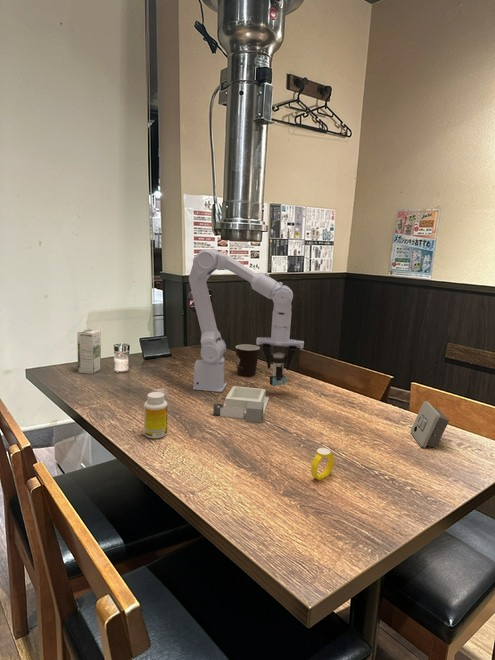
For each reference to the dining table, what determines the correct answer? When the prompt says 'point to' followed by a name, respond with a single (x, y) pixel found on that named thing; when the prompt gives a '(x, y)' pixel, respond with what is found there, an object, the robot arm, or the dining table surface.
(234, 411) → the pin
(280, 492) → the dining table surface
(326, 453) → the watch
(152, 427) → the supplement bottle
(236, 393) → the dock
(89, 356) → the syrup box
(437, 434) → the electrical switch
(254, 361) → the coffee mug
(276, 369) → the push button
